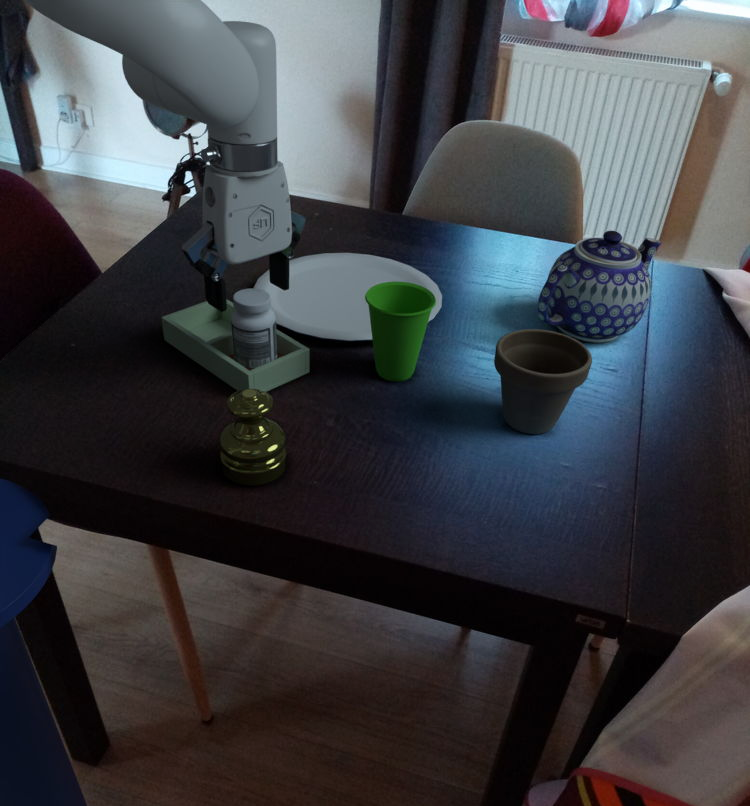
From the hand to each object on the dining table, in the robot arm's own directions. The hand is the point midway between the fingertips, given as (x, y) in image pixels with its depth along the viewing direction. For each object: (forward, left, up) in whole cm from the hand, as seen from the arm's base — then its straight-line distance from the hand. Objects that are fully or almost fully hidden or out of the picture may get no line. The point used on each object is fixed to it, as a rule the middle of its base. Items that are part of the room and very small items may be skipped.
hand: (249, 296), depth 98 cm
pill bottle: (0, 0, -10) cm, 10 cm away
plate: (+24, +7, -11) cm, 27 cm away
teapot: (+47, -22, -11) cm, 53 cm away
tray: (+1, +5, -11) cm, 12 cm away
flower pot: (+20, -31, -11) cm, 39 cm away
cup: (+15, -12, -11) cm, 22 cm away
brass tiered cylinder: (-13, -16, -11) cm, 23 cm away
